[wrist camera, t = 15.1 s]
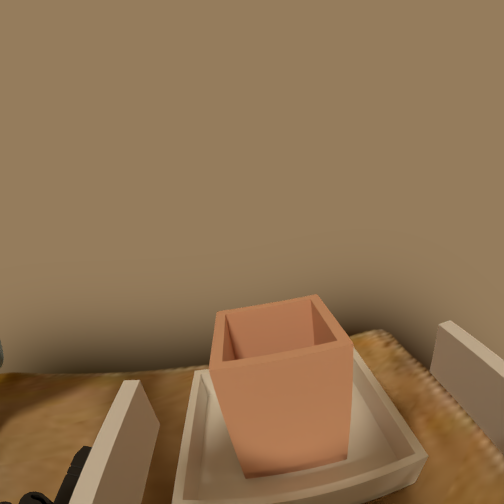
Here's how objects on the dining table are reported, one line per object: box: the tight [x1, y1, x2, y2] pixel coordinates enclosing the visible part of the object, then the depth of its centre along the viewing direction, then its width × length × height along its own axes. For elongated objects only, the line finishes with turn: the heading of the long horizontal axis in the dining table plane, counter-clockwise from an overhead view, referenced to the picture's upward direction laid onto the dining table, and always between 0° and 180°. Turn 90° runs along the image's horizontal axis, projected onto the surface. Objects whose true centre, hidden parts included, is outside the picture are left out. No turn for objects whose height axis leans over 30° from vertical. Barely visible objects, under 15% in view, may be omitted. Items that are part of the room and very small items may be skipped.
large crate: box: [172, 347, 428, 504], centre depth 23 cm, size 19×19×4 cm
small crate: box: [209, 294, 353, 479], centre depth 22 cm, size 9×9×13 cm
